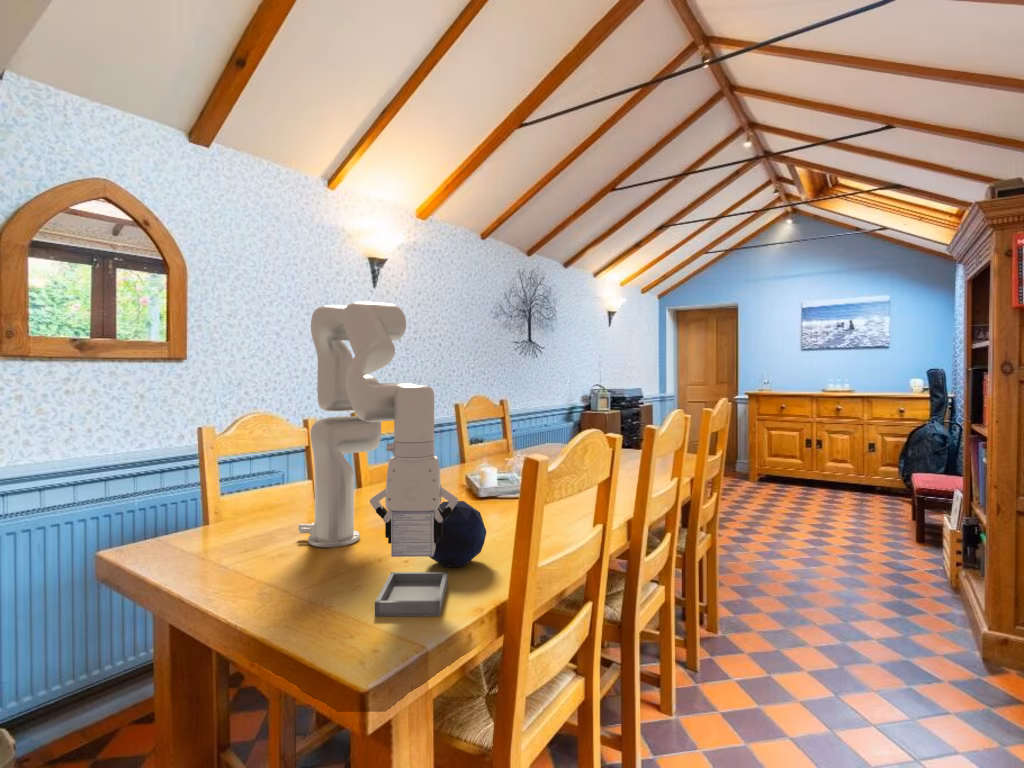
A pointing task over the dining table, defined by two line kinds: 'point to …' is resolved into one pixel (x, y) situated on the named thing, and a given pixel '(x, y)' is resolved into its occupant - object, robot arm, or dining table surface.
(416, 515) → the medicine box
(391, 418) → the robot arm
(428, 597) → the tray
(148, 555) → the dining table surface
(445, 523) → the decorative orb
